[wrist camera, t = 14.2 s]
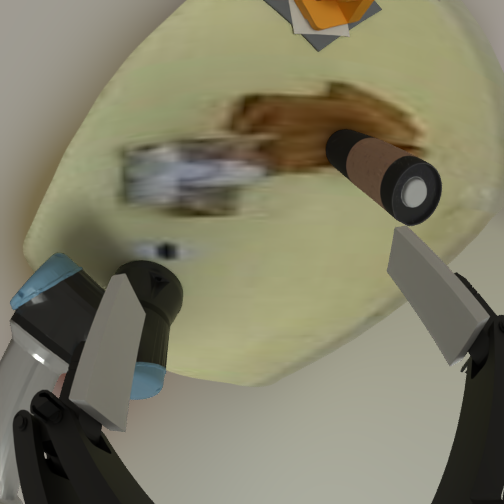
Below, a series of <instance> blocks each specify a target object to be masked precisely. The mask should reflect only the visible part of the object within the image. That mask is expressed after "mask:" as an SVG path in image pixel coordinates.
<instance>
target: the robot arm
mask: <svg viewBox="0 0 504 504" xmlns="http://www.w3.org/2000/svg"><path fill="white" fill-rule="evenodd" d="M82 269H83V268H82V267H79V266H78V265H77V264H76V263H74V262H73V261H72V260H71V259H70V258H69V257H68V256H67V255H65V254H63V253H55V254H53V255H52V256H51V257H50V258H49V259H48V260H47V261H46V262H45V263H44V264H43V265H42V266H41V267H40V268H39V269H38V270H37V271H36V272H35V273H34V274H33V275H32V276H31V277H30V278H29V279H28V280H27V282H26V283H25V284H24V285H23V286H22V288H21V289H20V290H19V291H18V292H17V293H16V295H15V296H14V297H13V298H12V300H11V301H10V304H11V306H12V309H13V310H16V311H15V313H14V315H13V316H12V318H11V320H10V326H11V331H12V339H11V341H10V343H9V345H8V347H7V349H6V351H5V353H4V355H3V357H2V359H1V361H0V504H23V503H22V501H21V500H20V498H19V497H18V496H17V493H18V489H19V484H20V485H21V489H22V493H23V497H24V501H25V504H154V502H153V501H152V500H151V499H150V498H149V497H148V495H147V494H146V493H145V492H144V491H143V489H142V488H141V487H140V485H139V484H138V483H137V481H136V480H135V479H134V478H133V476H132V475H131V473H130V472H129V471H128V469H127V468H126V466H125V465H124V464H123V462H122V461H121V459H120V458H119V456H118V455H117V453H116V452H115V450H114V449H113V447H112V445H111V444H110V442H109V441H108V439H107V437H106V436H105V434H104V433H103V432H102V431H101V429H102V425H103V426H104V427H106V428H107V429H109V430H112V431H121V432H125V431H126V424H127V415H128V408H129V401H130V399H132V400H133V399H134V400H138V399H146V398H150V397H153V396H155V395H157V394H158V393H159V392H160V391H161V389H162V387H163V381H164V376H165V374H166V362H167V351H168V341H169V331H170V326H171V324H172V323H173V321H174V319H175V318H176V316H177V314H178V313H179V311H180V309H181V306H182V301H183V289H182V286H181V284H180V282H179V280H178V279H177V278H176V276H175V275H174V274H173V273H172V272H170V271H169V270H168V269H166V268H165V267H163V266H161V265H158V264H156V263H153V262H148V261H134V262H130V263H127V264H125V265H123V266H122V267H120V268H119V269H118V270H117V272H116V273H115V275H113V276H112V277H111V279H110V281H109V284H108V286H107V288H106V291H105V290H103V289H102V288H101V287H100V286H99V285H98V284H97V283H96V282H95V281H94V280H93V279H92V278H91V277H90V276H89V275H87V274H86V273H85V272H84V271H83V270H82ZM387 272H388V274H389V275H390V276H391V278H392V279H393V281H394V282H395V283H396V285H397V286H398V287H399V289H400V290H401V292H402V293H403V294H404V296H405V297H406V299H407V300H408V301H409V303H410V304H411V306H412V307H413V309H414V310H415V312H416V313H417V315H418V316H419V318H420V319H421V321H422V322H423V324H424V325H425V327H426V328H427V330H428V331H429V333H430V335H431V336H432V338H433V339H434V341H435V343H436V344H437V346H438V347H439V349H440V350H441V352H442V354H443V356H444V357H445V359H446V361H447V363H448V364H449V366H452V365H454V364H456V363H458V362H459V361H461V360H462V359H463V358H464V356H465V355H466V354H467V352H469V354H470V357H469V359H468V360H467V362H466V363H465V364H464V366H463V367H462V369H461V372H463V371H464V370H465V368H466V367H467V371H466V372H465V373H467V375H466V383H465V391H464V397H463V402H462V407H461V413H460V417H459V422H458V427H457V431H456V435H455V438H454V442H453V446H452V449H451V452H450V456H449V459H448V462H447V465H446V468H445V471H444V474H443V476H442V479H441V482H440V484H439V487H438V489H437V492H436V494H435V497H434V499H433V501H432V503H431V504H504V493H503V500H502V499H501V494H502V490H503V487H504V315H499V316H497V315H496V314H495V313H494V312H493V310H492V309H491V308H490V307H489V306H488V304H487V303H486V302H485V300H484V299H483V298H482V297H481V296H480V294H479V293H477V291H476V290H475V289H474V288H472V285H471V284H470V283H469V282H468V281H467V279H466V278H464V277H463V276H461V275H460V274H458V273H453V272H452V271H451V270H450V269H449V267H448V266H447V265H446V264H445V263H444V262H443V261H442V260H441V259H440V258H439V257H438V256H437V255H436V254H435V253H434V252H433V251H432V250H431V249H430V248H429V247H428V246H427V245H426V244H425V243H424V242H423V241H422V240H421V239H420V238H419V237H418V236H417V235H416V234H415V233H414V232H413V231H412V230H411V229H410V228H408V227H407V226H401V227H395V229H394V235H393V241H392V247H391V253H390V258H389V263H388V268H387ZM62 373H67V374H66V376H65V380H64V383H63V387H62V390H61V394H60V397H59V398H57V397H56V396H55V395H54V394H53V393H52V391H53V389H54V386H55V384H56V382H57V380H58V378H59V376H60V375H61V374H62ZM44 452H45V453H46V455H47V459H45V457H44Z"/></svg>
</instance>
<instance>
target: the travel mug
mask: <svg viewBox="0 0 504 504" xmlns="http://www.w3.org/2000/svg"><path fill="white" fill-rule="evenodd" d="M326 155H327V158H328V160H329V162H330V163H331V164H332V165H333V166H334V167H335V168H336V169H337V170H338V171H340V172H341V173H342V174H343V175H344V176H345V177H346V178H348V179H349V180H350V181H351V182H352V183H353V184H354V185H355V186H357V187H358V188H359V189H361V190H362V191H363V192H364V193H366V194H367V195H368V196H369V197H370V198H372V199H373V200H374V201H375V202H376V203H378V204H379V205H380V206H381V207H382V208H384V209H385V210H386V211H387V212H388V213H389V214H390V215H392V216H393V217H394V218H395V219H396V220H398V221H400V222H401V223H403V224H405V225H407V226H414V225H418V224H420V223H422V222H424V221H425V220H426V219H428V218H429V217H430V216H431V215H432V213H433V212H434V211H435V209H436V207H437V205H438V203H439V201H440V197H441V192H442V182H441V178H440V175H439V173H438V171H437V170H436V169H435V168H434V167H433V166H432V165H431V164H429V163H427V162H426V161H424V160H422V159H420V158H418V157H416V156H414V155H412V154H410V153H408V152H406V151H404V150H402V149H399V148H397V147H395V146H393V145H391V144H389V143H386V142H384V141H382V140H379V139H377V138H374V137H371V136H368V135H365V134H362V133H359V132H356V131H352V130H347V129H345V130H340V131H337V132H335V133H334V134H333V135H332V136H331V137H330V138H329V140H328V142H327V145H326Z"/></svg>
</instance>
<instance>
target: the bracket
mask: <svg viewBox="0 0 504 504" xmlns="http://www.w3.org/2000/svg"><path fill="white" fill-rule="evenodd" d="M294 1H295V3H296V5H297V6H298V8H299V10H300V11H301V13H302V15H303V17H304V19H307V20H308V22H309V23H310V25H311V27H312V28H313V29H314V30H317V31H320V30H324V29H327V28H331V27H335V26H339V25H344V24H348V23H353V22H357V21H359V20H360V19H361V18H362V16H363V15H364V13H365V12H366V11H367V9H368V8H369V7H370V5H371V4H372V3H373V1H374V0H294Z"/></svg>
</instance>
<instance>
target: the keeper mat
mask: <svg viewBox="0 0 504 504" xmlns="http://www.w3.org/2000/svg"><path fill="white" fill-rule="evenodd" d="M264 1H265V2H266V3H267V4H269V5H270V6H271V7H272V8H273V9H274V10H276V11H277V12H278V13H279V14H280V15H281V16H282V17H284V18H285V19H286V20H287V21H288V22H289V23H290V24H291V25H292V26H293V30H294V34H301V35H302V36H303V37H304V38H305V39H306V40H307V41H308V42H309V43H310V44H311V45H312V46H313V47H314V48H315V49H316V50H317V51H318V52H319V51H320V50H322V49H323V48H324V47H326V46H327V45H328V44H330V43H331V42H333V41H334V40H335V39H337V38H338V37H340V36H348V37H350V35H349V30H350V29H352V28H353V27H355V26H356V25H358V24H359V23H361V22H362V21H364V20H366V19H367V18H369V17H371V16H372V15H374V14H375V13H377V12H379V11H381V10H382V9H381V8H380V6H379V5H378V4H377V3H376V2H375V1H373V3H372V4H371V5H370V7H369V8H368V9H367V11H366V12H365V13H364V15H363V16H362V18H361V19H360V20H359V21H357V22H353V23H348V24H344V25H339V26H335V27H331V28H327V29H324V30H320V31H317V30H314V29H313V28H312V27H311V25H310V23H309V22H308V20H307V19H304V17H303V15H302V13H301V11H300V10H299V8H298V6H297V5H296V3H295V1H294V0H264Z"/></svg>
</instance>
